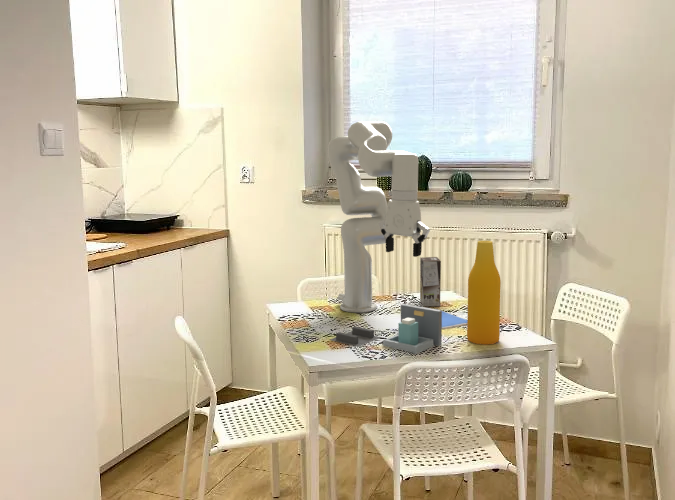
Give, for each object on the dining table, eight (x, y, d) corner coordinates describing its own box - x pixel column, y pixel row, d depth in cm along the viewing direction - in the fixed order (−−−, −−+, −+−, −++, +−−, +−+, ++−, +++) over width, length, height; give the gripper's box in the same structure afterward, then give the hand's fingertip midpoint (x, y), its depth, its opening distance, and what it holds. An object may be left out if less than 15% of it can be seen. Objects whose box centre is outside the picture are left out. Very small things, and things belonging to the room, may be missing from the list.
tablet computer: (473, 325, 216) (473, 321, 216) (441, 331, 210) (441, 327, 210) (436, 312, 233) (437, 308, 232) (406, 317, 227) (406, 313, 226)
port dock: (380, 346, 194) (380, 312, 192) (403, 336, 203) (403, 303, 201) (419, 354, 186) (419, 319, 184) (441, 344, 195) (441, 310, 193)
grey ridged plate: (328, 341, 200) (328, 332, 199) (352, 332, 208) (352, 324, 208) (358, 347, 193) (358, 339, 192) (381, 338, 201) (381, 330, 201)
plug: (398, 347, 193) (398, 319, 192) (406, 343, 196) (406, 316, 195) (410, 349, 190) (410, 321, 189) (418, 346, 194) (418, 318, 192)
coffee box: (440, 306, 238) (441, 260, 236) (422, 306, 238) (422, 261, 236) (437, 300, 247) (437, 256, 245) (419, 300, 247) (419, 256, 245)
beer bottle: (505, 340, 198) (508, 241, 193) (486, 347, 192) (488, 245, 187) (479, 333, 205) (481, 238, 200) (460, 340, 199) (461, 241, 194)
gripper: (372, 194, 200) (372, 251, 204) (422, 199, 189) (420, 260, 193) (387, 192, 206) (386, 247, 209) (436, 197, 195) (435, 255, 198)
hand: (403, 253), depth 201 cm, fingers open, 9 cm apart
